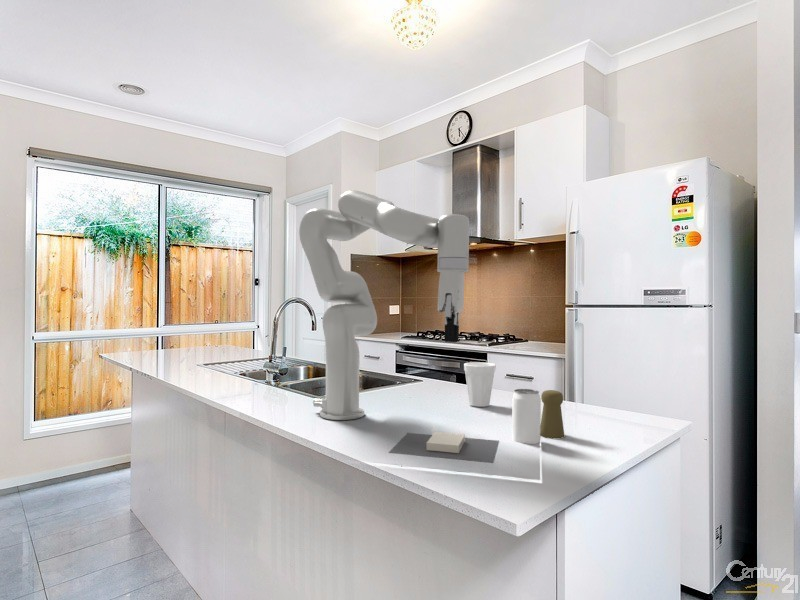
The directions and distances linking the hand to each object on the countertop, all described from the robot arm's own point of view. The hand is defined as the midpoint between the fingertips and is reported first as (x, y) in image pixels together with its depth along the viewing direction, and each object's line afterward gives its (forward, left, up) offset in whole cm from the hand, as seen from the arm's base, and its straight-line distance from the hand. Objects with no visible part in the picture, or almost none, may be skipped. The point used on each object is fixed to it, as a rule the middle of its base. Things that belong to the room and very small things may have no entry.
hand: (451, 341), depth 119 cm
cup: (+3, +37, -23) cm, 44 cm away
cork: (+24, +9, -23) cm, 34 cm away
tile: (+1, -6, -22) cm, 22 cm away
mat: (+1, -10, -23) cm, 25 cm away
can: (+18, +1, -23) cm, 29 cm away
